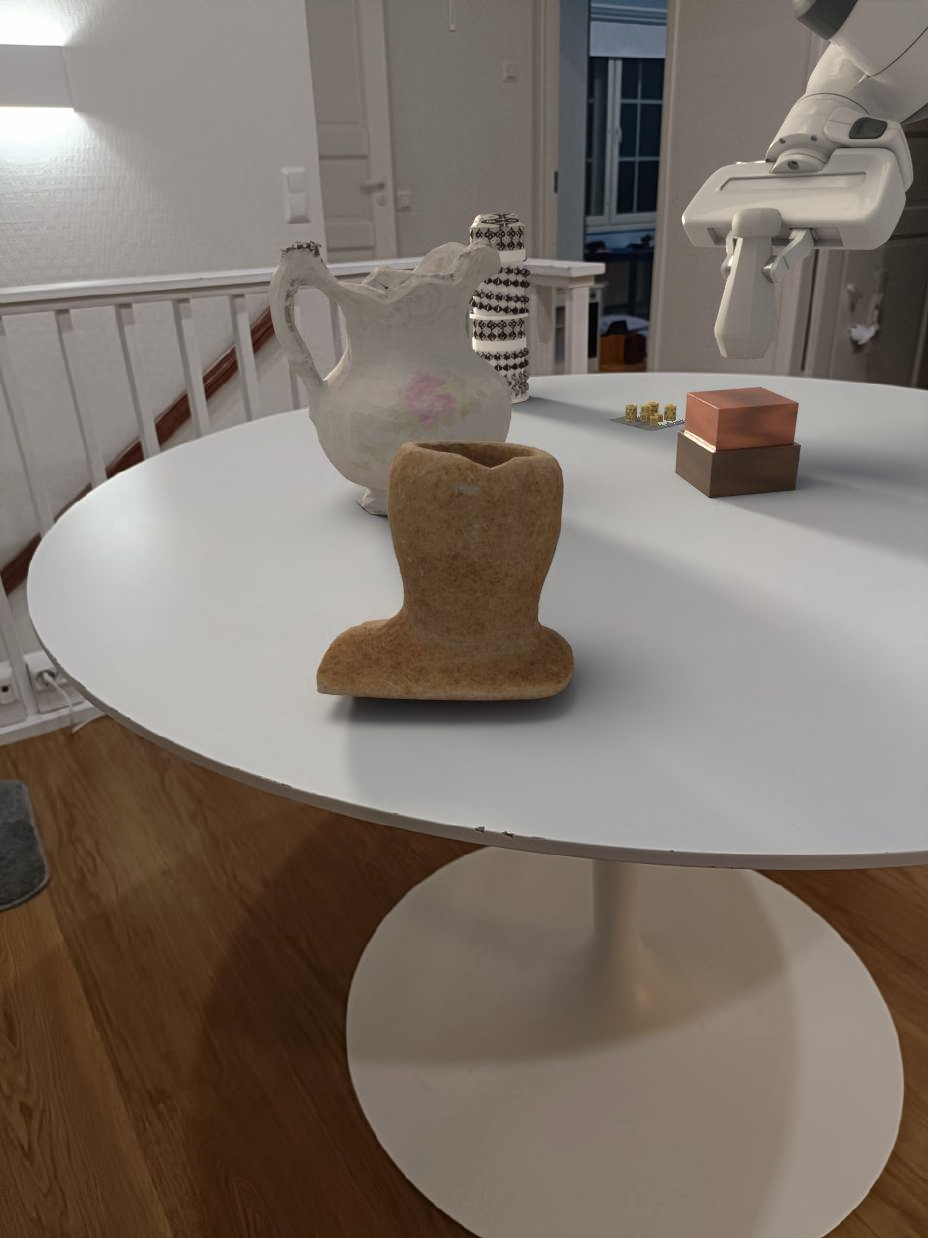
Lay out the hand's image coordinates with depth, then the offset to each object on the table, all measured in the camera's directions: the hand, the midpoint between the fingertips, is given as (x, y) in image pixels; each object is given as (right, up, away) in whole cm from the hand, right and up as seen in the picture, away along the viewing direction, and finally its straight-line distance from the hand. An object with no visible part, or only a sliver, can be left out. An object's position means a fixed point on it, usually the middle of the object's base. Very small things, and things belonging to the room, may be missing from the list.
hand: (748, 277), depth 81 cm
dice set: (-2, -6, +34) cm, 34 cm away
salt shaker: (+1, -6, +4) cm, 7 cm away
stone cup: (-27, -35, -25) cm, 51 cm away
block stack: (+1, -17, +9) cm, 20 cm away
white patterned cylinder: (-21, +1, +50) cm, 54 cm away
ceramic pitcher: (-32, -20, +7) cm, 39 cm away
